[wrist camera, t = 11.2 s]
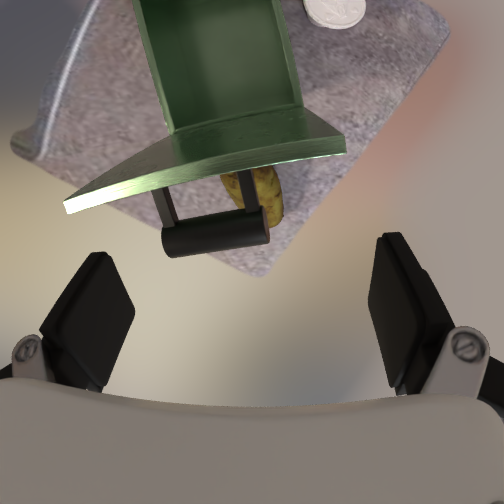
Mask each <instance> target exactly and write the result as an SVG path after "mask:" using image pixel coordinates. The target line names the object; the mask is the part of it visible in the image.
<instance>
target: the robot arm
mask: <svg viewBox="0 0 504 504" xmlns="http://www.w3.org/2000/svg"><path fill="white" fill-rule="evenodd" d="M368 307H369V311H370V314H371V318H372V321H373V325H374V328H375V331H376V335H377V339H378V343H379V346H380V350H381V354H382V358H383V362H384V366H385V370H386V374H387V378H388V382H389V386H390V387H391V388H393V387H395V392H396V395H397V397H389V398H380V399H373V400H365V401H355V402H346V403H333V404H321V405H308V406H307V405H306V406H285V407H228V406H206V405H190V404H179V403H167V402H159V401H150V400H142V399H136V398H128V397H122V396H116V395H110V394H104V393H102V390H103V387H104V386H106V385H107V383H108V381H109V378H110V375H111V372H112V370H113V367H114V365H115V363H116V360H117V357H118V355H119V352H120V350H121V348H122V345H123V343H124V340H125V338H126V335H127V333H128V331H129V328H130V326H131V324H132V321H133V319H134V316H135V308H134V305H133V303H132V301H131V299H130V298H129V295H128V293H127V291H126V289H125V286H124V284H123V282H122V280H121V278H120V275H119V273H118V271H117V269H116V266H115V264H114V262H113V259H112V257H111V256H109V255H108V254H107V253H106V252H93V253H91V254H90V255H89V256H88V257H87V258H86V260H85V261H84V263H83V264H82V265H81V267H80V268H79V269H78V271H77V272H76V274H75V275H74V277H73V278H72V279H71V281H70V282H69V284H68V285H67V287H66V288H65V289H64V291H63V292H62V294H61V295H60V297H59V298H58V300H57V301H56V303H55V304H54V306H53V308H52V309H51V311H50V312H49V314H48V316H47V317H46V319H45V320H44V322H43V324H42V325H41V327H40V329H39V331H40V332H41V334H42V335H43V338H42V340H41V339H40V337H39V336H37V335H34V334H32V335H28V336H25V337H24V338H22V339H21V340H20V341H19V342H18V343H17V344H16V346H15V347H14V349H13V352H12V363H11V364H9V365H7V366H6V367H4V368H3V369H1V370H0V504H504V363H502V362H500V361H498V360H497V359H495V358H493V357H491V356H489V355H490V347H489V343H488V341H487V340H486V338H485V336H484V335H483V334H482V333H481V332H480V331H478V330H476V329H475V328H472V327H468V326H460V327H455V325H454V323H453V321H452V319H451V317H450V315H449V313H448V310H447V309H446V306H445V305H444V303H443V301H442V299H441V297H440V295H439V293H438V291H437V289H436V287H435V285H434V284H433V282H432V280H431V278H430V277H429V275H428V273H427V272H426V271H425V270H424V269H422V268H421V266H420V264H419V263H418V261H417V259H416V257H415V256H414V254H413V252H412V250H411V249H410V247H409V245H408V244H407V242H406V240H405V239H404V237H403V236H402V234H401V233H400V232H388V233H384V234H383V235H382V237H379V238H378V239H377V244H376V251H375V258H374V266H373V271H372V278H371V284H370V290H369V296H368ZM86 389H88V390H86ZM404 394H407V395H405V396H398V395H404Z"/></svg>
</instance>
